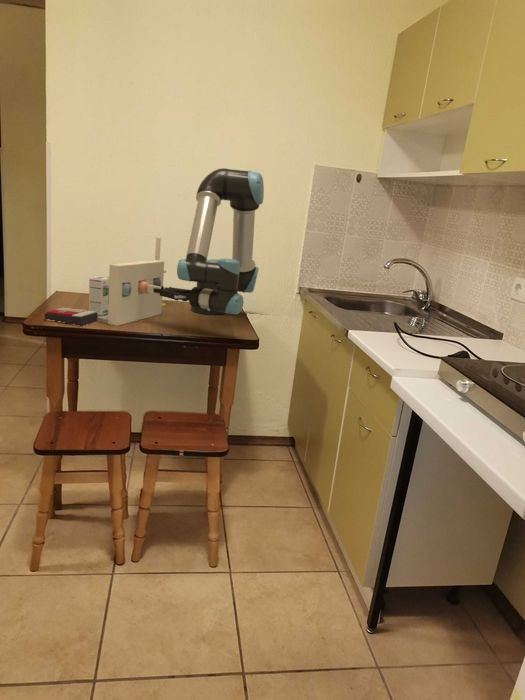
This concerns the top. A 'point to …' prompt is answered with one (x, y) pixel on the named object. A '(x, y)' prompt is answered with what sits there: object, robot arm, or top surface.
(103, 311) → the syrup box
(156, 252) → the candle
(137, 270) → the control panel
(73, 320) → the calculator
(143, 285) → the terracotta button
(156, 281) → the charcoal button
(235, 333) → the top surface
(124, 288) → the slate blue button
